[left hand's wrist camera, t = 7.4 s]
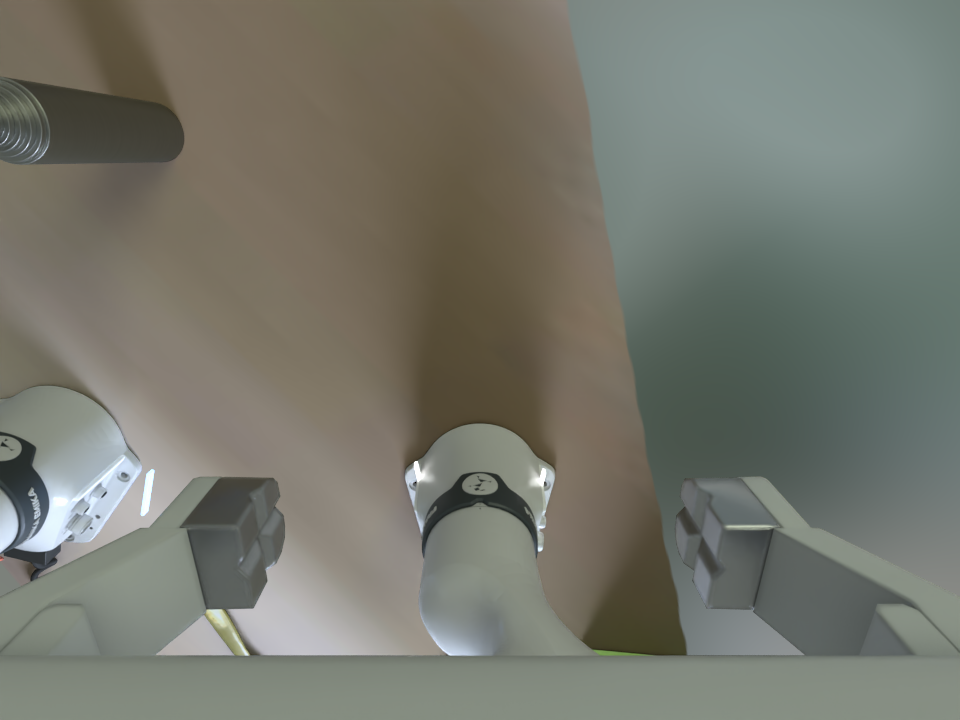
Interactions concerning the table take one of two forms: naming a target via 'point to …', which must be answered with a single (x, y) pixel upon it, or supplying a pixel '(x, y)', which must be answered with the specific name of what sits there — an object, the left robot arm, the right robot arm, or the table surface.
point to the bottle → (82, 126)
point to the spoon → (226, 630)
